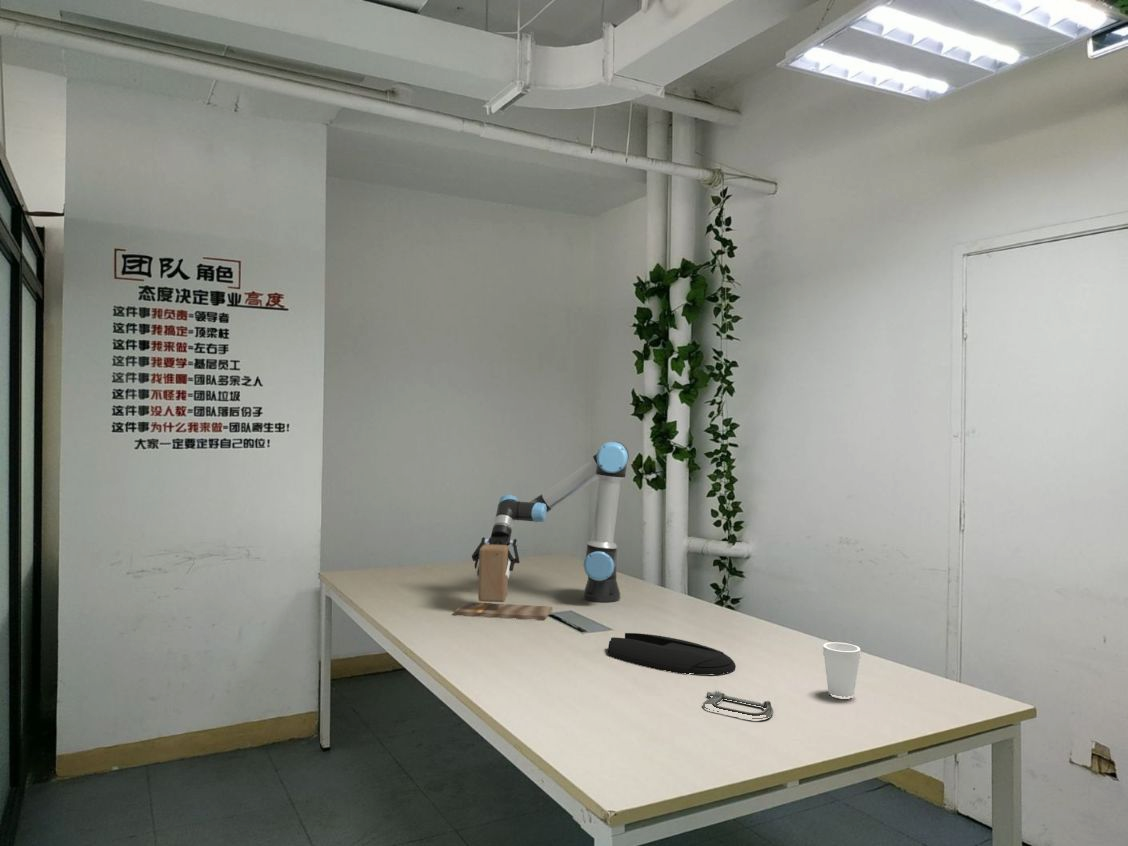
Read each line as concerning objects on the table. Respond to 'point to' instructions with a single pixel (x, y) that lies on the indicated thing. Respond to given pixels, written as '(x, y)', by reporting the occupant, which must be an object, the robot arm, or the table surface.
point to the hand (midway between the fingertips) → (491, 576)
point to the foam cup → (841, 667)
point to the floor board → (504, 610)
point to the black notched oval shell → (669, 654)
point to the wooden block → (493, 573)
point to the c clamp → (719, 696)
